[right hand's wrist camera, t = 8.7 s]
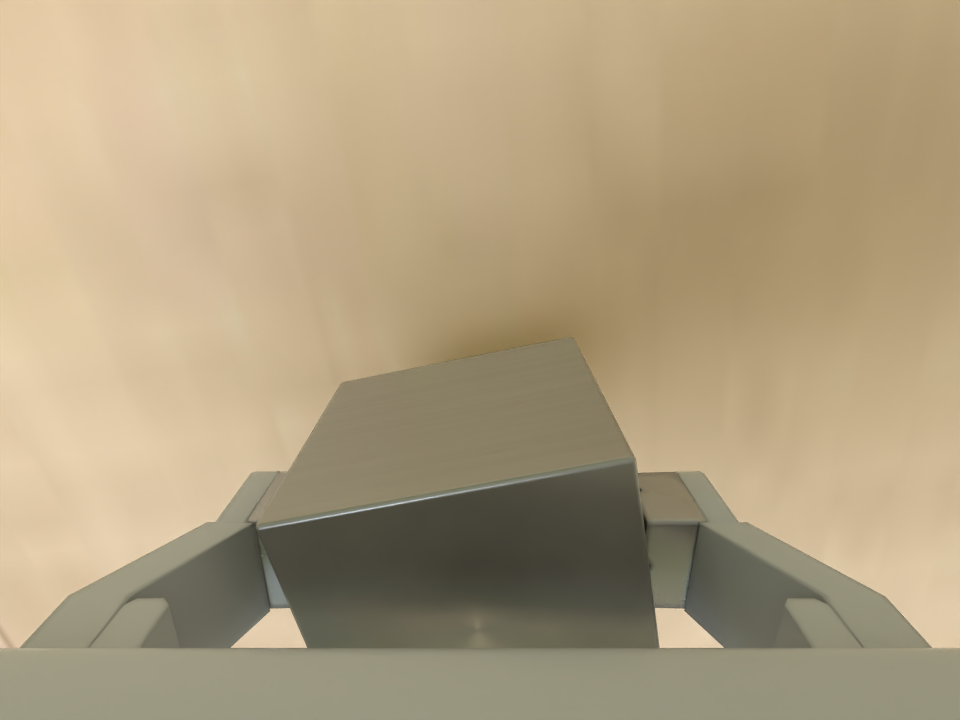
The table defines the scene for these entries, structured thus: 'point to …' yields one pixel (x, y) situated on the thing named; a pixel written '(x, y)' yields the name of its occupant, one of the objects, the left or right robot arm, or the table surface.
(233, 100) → the table surface
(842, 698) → the right robot arm
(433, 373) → the block
